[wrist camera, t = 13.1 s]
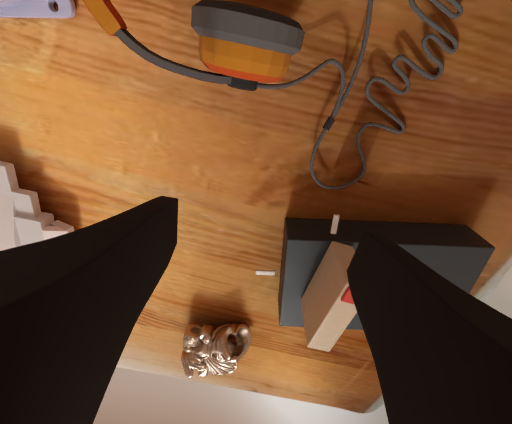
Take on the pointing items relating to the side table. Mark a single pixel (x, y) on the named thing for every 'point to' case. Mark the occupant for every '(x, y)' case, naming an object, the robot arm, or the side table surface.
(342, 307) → the handle
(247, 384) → the side table surface
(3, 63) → the side table surface
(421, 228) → the panel
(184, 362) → the ornament
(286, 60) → the headphones
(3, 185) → the toy rocket
